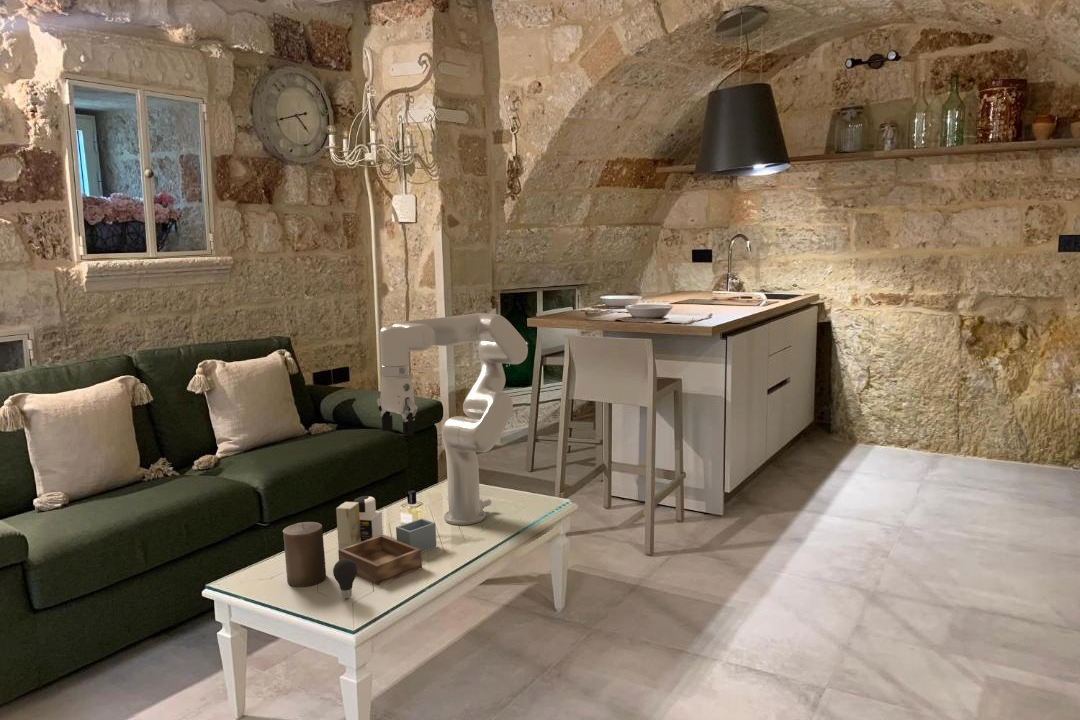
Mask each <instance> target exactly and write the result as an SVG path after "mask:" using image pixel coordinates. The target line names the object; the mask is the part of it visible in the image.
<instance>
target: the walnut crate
mask: <svg viewBox="0 0 1080 720" xmlns="http://www.w3.org/2000/svg"><path fill="white" fill-rule="evenodd" d="M337 552H338V561H339V560H341V559H350V560H352V561H353V562H354V563H355V564H356V567H357V574H356V577H359V578H361V579H364V580H366V581H367V582H370V583H372V584H374V585H377V586H380V585H383V584H384V583H385V584H386V583H387V582H390V581H393V580H395V579H397V578H400V577H402V576H405V575H407V574H410V573H412V572H415V571H418V570H420V569H423V556H422V552H421V549H418V548H416V547H413V546H410V545H408V544H405V543H403V542H400V541H397V539H394V538H392V537H389V536H387V535H384V534H382V535H380V536H377V537H374V538H371V539H368V540H365V541H362V542H359V543H356V544H354V545H351V546H348V547H345V548H342V549H339V548H338V550H337ZM419 568H420V569H419Z"/></svg>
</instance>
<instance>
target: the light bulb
mask: <svg viewBox="0 0 1080 720" xmlns="http://www.w3.org/2000/svg"><path fill="white" fill-rule="evenodd" d="M332 574H333V577H334V579H335V581H336V582H337V583H338V585H339V589H340V591H341V592H340V594H341V598H343V599H344V600H345V601H346V600H349V598H351V597H352V595H353V592H352V591H353V590H352V588H353V585H354V581H355V579H356V577H357V576H356V574H357V567H356V564H355V563H354V562H353V561H352V560H350V559H341V560H339V559H338V561H337V562H336V563H335V564H334V566H333V569H332Z"/></svg>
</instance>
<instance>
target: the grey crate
mask: <svg viewBox="0 0 1080 720" xmlns="http://www.w3.org/2000/svg"><path fill="white" fill-rule="evenodd" d="M436 527H437V526H436V523H435V521H434V522H433V521H430V520H428V519H425V518H419V519H416V520H413V521H410V522H408V523H405V524H400V525H398V526H396V527H395V531H396V532H395V534H396V535H395V536H396V540H397V541H400V542H403V543H405V544H408V545H410V546H413V547H416V548H418V549H421V553H424V552H426V551H425V550H427V551H429V550H432V549H434V548H436V546H437V532H436V531H437V528H436ZM433 547H434V548H433ZM431 548H432V549H431ZM428 549H429V550H428ZM423 551H424V552H423Z"/></svg>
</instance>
